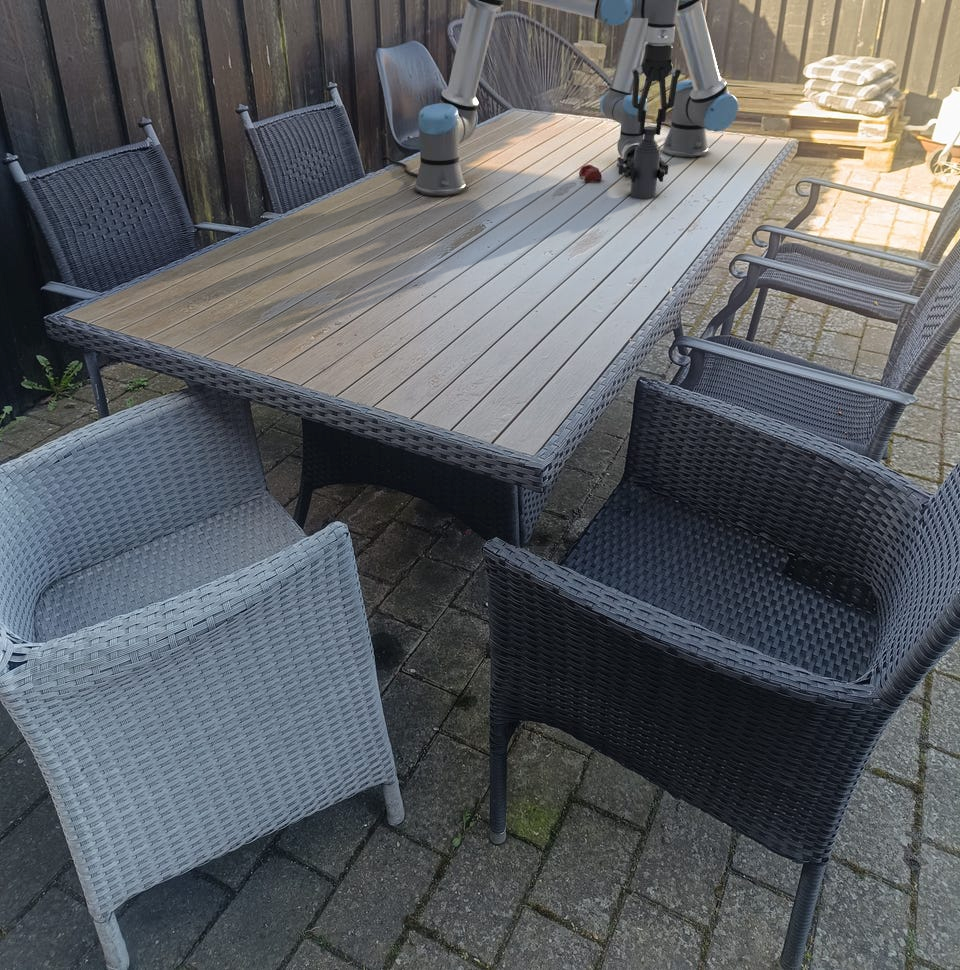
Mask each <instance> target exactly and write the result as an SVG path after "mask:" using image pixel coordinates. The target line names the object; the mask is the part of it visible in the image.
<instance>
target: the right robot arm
mask: <svg viewBox="0 0 960 970" xmlns="http://www.w3.org/2000/svg"><path fill="white" fill-rule="evenodd" d="M702 1H703V0H679V3H678V10H677V18H676V26H675V28H676V31H677V34H678V37H679V41H680V46H681V49H682V52H683V56H684V60H685V64H686V67H687V70H688V71H687V72H688V74H689V78H690V79H687V80H686V79H685V80H680V81H677V87H676V94H675V100H674V106H673V107H672V117H671V124H668V123H665V122H661V126H663V127H668V128H670V129H669V131H668V134H667V135H666V138H665V140H664V142H663V146H662V152H663V153H665V154H666V155H669V156H673V157H679V158H701V157H705V156H706V155H707V154H708V150H709V146H708V138H707V133H706V130H707V131H709V132H715V133H716V132H717V133H718V132H722V131H724V130H727V129H728V128H729V127H730V126H731V125H732V124H733V123H734V121H735V119H736V117H737V116H738V112H739V102H738V98H737V97H736V96H734V94H732V93H730V91H729V87H728V83H727V80H726V78H724V77H722V76H720V72H719V69H718V65H717V64H718V63H717V60H716V56H715V52H714V48H713V43H712V40H711V35H710V32H709V27H708V23H707V21H706V17H705V12H704V9H703V4H702ZM647 26H648V18H629V22H628V25H627V28H626V32H625V35H624V39H623V42H622V44H621V45H622V46H621V49H620V53H619V56H618V60H617V62H616V67H615V69H614V72H613V77H612V79H611V83H610V87H609V89H608V92H607V93H605V94H603V96H602V98H601V99H600V101H599V110H600V112H601V113H602V115H603V116H604V117H606V118H607V119H609V120H612V121H614V122H617V123H619V124H620V133H619V138H618V140H617V145H616V146H617V148H616V149H617V152H618V155H619V157H617V158H616V167H617V168H618V175H620V176H621V175H623V174H624V178H626V179H627V178H629V179H630V180H631V183H632V182H635V177H636V172H635V170H634V168H633V163H634V153H635V149H636V147H637V146H638V144H640V142H642V140H643V139H644V134H643V135H640V133H639V129H640V122H638V121H637V114H638V109H637V108H634V107H633V106H632V96H633V82H634V77H633V73H632V70H633V69H637V68H640V67H641V66H642V64H643V61H644V55H645V46H646V44H648V43H647V42H646V35H647ZM640 98H641V94H638V104H639V101H640ZM644 109H645V110H646V114H645V121H646V118H647V112H648V98H647V99H646V102H645V105H644ZM655 122H656V124H657V118H656V119H655ZM645 126H646V123H645V124H644V127H645ZM669 167H670V165H669V164H667V163H666V162H665V161H664V160H662V157H660V160H659V168H658V177H657V180H658V181H659V182H660V183H663V182H664V177H665V176H666V175H668V174H669Z"/></svg>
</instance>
